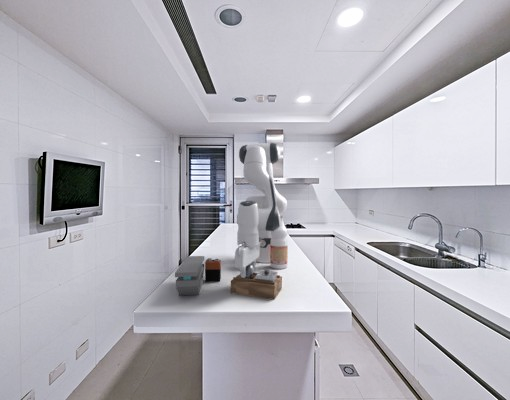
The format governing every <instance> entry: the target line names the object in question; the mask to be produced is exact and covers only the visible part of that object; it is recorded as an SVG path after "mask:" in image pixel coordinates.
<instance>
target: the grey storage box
mask: <svg viewBox="0 0 510 400" xmlns="http://www.w3.org/2000/svg"><path fill="white" fill-rule="evenodd" d="M204 261H205V255H188V256H186V257H185V258H184V260H183V261H182V263H181V264H180V265H179V267H178V268H177V270H175V273H174V278H176V279H175V289H176V292H177V294H178V295H179V296H192V295H193V296H194V295H195V296H196V295H197V296H198V295H200V294H201V291H202V287H203V285H204V276H205V263H204Z"/></svg>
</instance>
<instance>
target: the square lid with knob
mask: <svg viewBox="0 0 510 400" xmlns="http://www.w3.org/2000/svg"><path fill="white" fill-rule="evenodd" d="M257 273H258V274H257V275H256V280H261V281H270V282H275V281H276V279H277V278H278V271H274V270H273V271H272V270H270V269H262V270H260V271H259V272H257Z"/></svg>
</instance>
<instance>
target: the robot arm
mask: <svg viewBox="0 0 510 400" xmlns="http://www.w3.org/2000/svg"><path fill="white" fill-rule="evenodd" d="M280 157H281V149H280V146H279V145H278V144H277V143H275V142H270V143H269V142H268V143H267V142H262V143H261V142H260V143H259V142H258V143H253V144H245V145H241V147H240V148H239V151H238V158H239V161H240V163H241V164H243V169H242V170H243V177H244V179H245V181H246V182H247V183H248V184H250V185H251V186H253V187H255V188H256V189H257V190H258V191H260V192H262V193H263V194H264V195H251V196H248V197H247V198H246V199H245V200H244V201H241V202H239V204H238V209H237V215H236V222H237V226H238V228H237V229H238V230H237V234H236V235H237V236H236V237H237V238H236V241H237V243H236V244H237V246H238V247H237V248H236V249H235V252H234V268H235V269H239V272H240V273H241V277H242V278H245V277H246V272H245V269H246V266H248V265H249V264H251V265H253V271H255V266H256V265H255V264H256V262H257V263H264V264H265V263H267V264H268V263H270V241H271V238H272V236H271V231H275V230H276V229H277V228H279V226H280V223H281V218H280V216H281V215H280V214H284V213H285V212H286V210H288V209H287V208H288V202H287V199H286V197H284V196H283V195H281V194H280V193H279V192H278V190H277V188H276V185H275V179H274V169H273V165H274V164H275V163H277V162H279V160H280ZM255 260H256V262H255Z"/></svg>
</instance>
